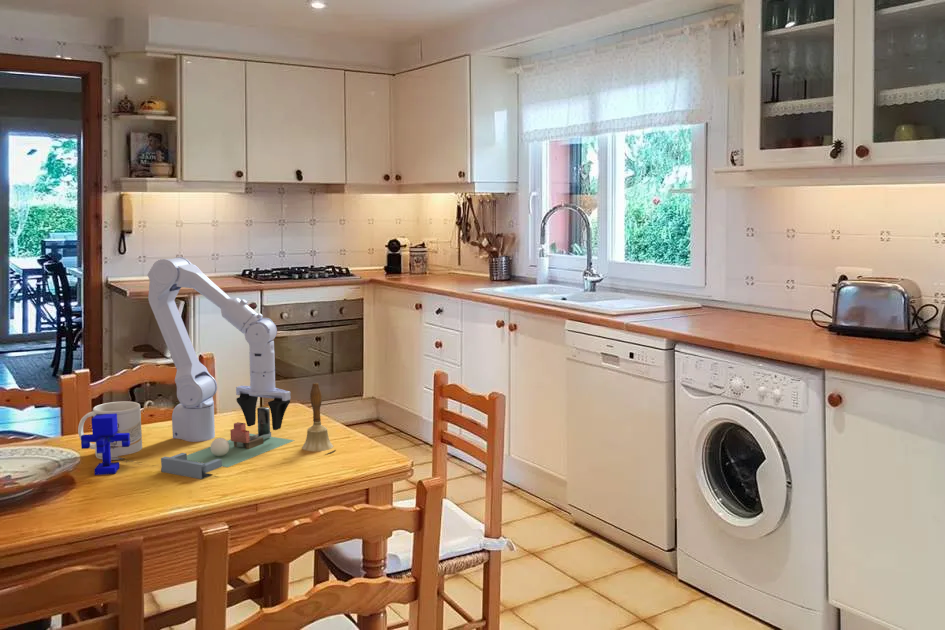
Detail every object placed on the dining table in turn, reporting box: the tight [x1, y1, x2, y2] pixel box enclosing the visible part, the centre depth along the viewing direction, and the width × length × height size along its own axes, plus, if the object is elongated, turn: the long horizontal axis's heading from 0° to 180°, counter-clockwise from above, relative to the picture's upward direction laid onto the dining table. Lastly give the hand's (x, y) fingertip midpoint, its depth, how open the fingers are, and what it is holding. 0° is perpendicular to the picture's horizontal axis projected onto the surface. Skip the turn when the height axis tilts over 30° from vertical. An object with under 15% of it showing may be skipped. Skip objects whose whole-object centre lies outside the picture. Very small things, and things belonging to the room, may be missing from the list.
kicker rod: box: [229, 406, 272, 448], centre depth 195 cm, size 4×11×7 cm, turn 155°
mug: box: [77, 400, 143, 461], centre depth 190 cm, size 10×12×11 cm
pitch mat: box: [187, 432, 295, 468], centre depth 191 cm, size 14×23×1 cm, turn 155°
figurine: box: [80, 413, 130, 476], centre depth 177 cm, size 8×8×12 cm
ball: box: [209, 437, 229, 456], centre depth 185 cm, size 4×4×4 cm
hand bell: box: [301, 382, 337, 456], centre depth 192 cm, size 8×8×16 cm
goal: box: [160, 452, 223, 480], centre depth 178 cm, size 11×6×3 cm, turn 65°
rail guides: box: [234, 436, 263, 449], centre depth 194 cm, size 4×5×1 cm
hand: (263, 427), depth 199 cm, fingers open, 7 cm apart
